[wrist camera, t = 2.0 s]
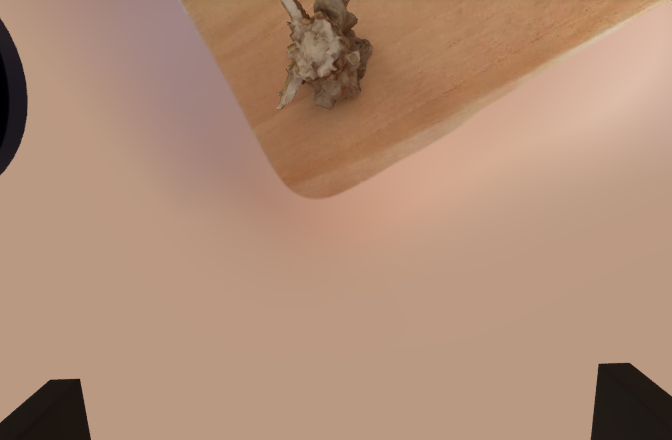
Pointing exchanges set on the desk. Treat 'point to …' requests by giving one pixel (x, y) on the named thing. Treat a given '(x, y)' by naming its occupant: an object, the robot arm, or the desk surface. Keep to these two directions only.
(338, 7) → the figurine
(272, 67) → the desk surface
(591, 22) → the desk surface
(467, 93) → the desk surface
